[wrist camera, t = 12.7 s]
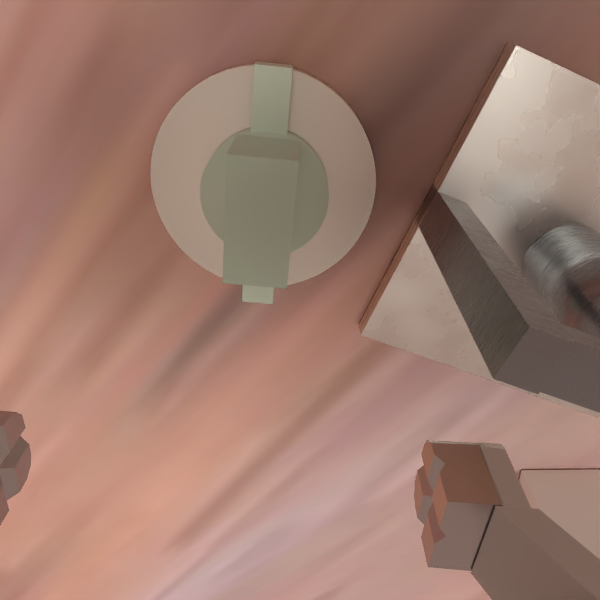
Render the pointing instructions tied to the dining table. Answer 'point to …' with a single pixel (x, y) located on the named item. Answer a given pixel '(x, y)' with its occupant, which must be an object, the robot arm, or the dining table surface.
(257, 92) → the pale green disc-and-bar piece
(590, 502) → the milk
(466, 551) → the robot arm
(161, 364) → the dining table surface
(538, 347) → the twin post base plate
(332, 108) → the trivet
